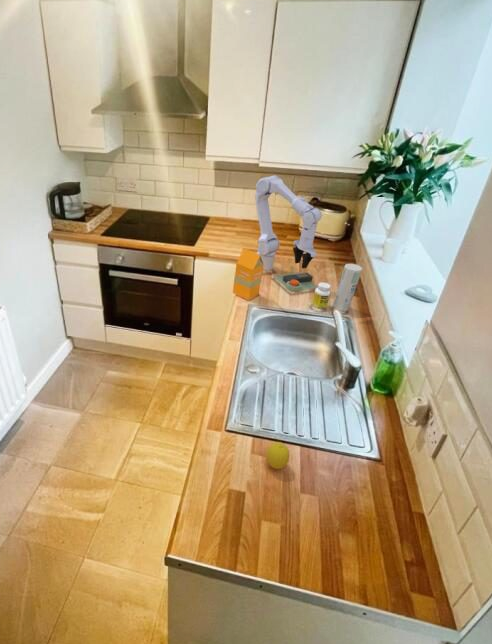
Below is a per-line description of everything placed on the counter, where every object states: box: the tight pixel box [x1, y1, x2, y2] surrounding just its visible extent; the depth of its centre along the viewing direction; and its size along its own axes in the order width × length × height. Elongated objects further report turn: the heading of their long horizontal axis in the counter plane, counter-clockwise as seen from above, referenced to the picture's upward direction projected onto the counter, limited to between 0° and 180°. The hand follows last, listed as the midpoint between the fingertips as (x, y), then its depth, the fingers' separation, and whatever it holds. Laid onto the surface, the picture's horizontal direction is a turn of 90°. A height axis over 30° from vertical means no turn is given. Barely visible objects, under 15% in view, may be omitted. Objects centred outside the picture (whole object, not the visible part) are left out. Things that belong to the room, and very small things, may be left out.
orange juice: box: [232, 248, 264, 301], centre depth 171 cm, size 8×9×20 cm
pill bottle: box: [311, 282, 332, 310], centre depth 165 cm, size 6×6×11 cm
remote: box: [283, 272, 314, 283], centre depth 185 cm, size 13×4×3 cm, turn 109°
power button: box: [290, 279, 299, 286], centre depth 178 cm, size 4×4×2 cm
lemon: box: [265, 441, 290, 470], centre depth 99 cm, size 6×6×8 cm
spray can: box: [332, 263, 363, 312], centre depth 162 cm, size 6×6×20 cm
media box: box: [272, 272, 318, 293], centre depth 184 cm, size 16×14×4 cm
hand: (300, 265), depth 181 cm, fingers open, 5 cm apart
